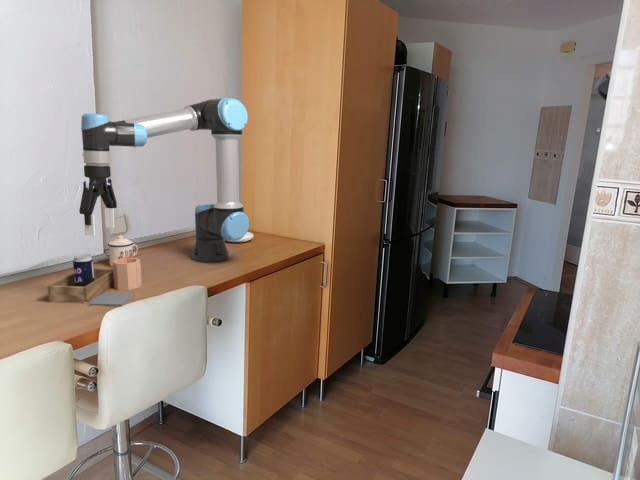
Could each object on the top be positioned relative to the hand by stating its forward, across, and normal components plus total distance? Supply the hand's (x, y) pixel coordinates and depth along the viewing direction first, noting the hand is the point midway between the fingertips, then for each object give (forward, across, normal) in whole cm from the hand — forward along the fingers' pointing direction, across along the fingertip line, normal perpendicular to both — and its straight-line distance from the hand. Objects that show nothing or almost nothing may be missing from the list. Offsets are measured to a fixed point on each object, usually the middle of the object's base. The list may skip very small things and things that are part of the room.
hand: (100, 231), depth 150 cm
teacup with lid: (+20, -32, -6) cm, 38 cm away
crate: (+20, +3, -5) cm, 21 cm away
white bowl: (+18, -80, +30) cm, 88 cm away
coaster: (+20, +10, +7) cm, 23 cm away
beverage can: (+20, +3, -5) cm, 21 cm away
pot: (+20, -4, +6) cm, 21 cm away
